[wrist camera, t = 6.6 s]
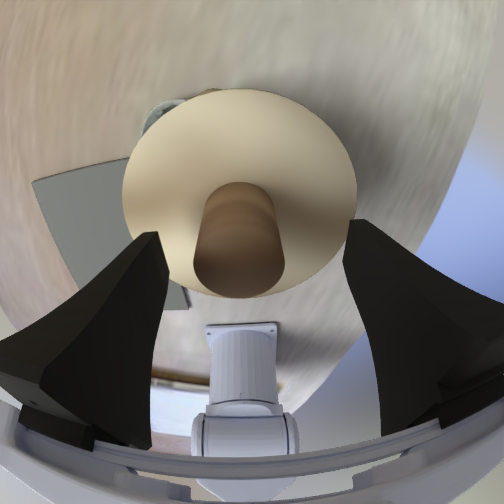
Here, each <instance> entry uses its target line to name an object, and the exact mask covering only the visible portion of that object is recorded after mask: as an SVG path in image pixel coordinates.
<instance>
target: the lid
mask: <svg viewBox="0 0 504 504" xmlns="http://www.w3.org/2000/svg"><path fill="white" fill-rule="evenodd" d="M122 203H123V211H124V216H125V220H126V224H127V226H128V229H129V232H130V234H131V236H132V238H133V240H135V239H136V238H137V237H138V236H139V235H140V234H142V233H143V232H152V231H158V234H159V237H160V241H161V244H162V248H163V251H164V254H165V258H166V261H167V264H168V268H169V271H170V275H169V278H170V279H171V280H173V281H174V282H176V283H178V284H180V285H182V286H184V287H186V288H189V289H191V290H194V291H196V292H200V293H203V294H206V295H211V296H216V297H223V298H242V299H245V298H256V297H262V296H268V295H272V294H275V293H279V292H282V291H285V290H287V289H290V288H292V287H294V286H296V285H298V284H300V283H302V282H304V281H306V280H307V279H309V278H310V277H312V276H313V275H315V274H316V273H317V272H319V271H320V270H321V269H322V268H323V267H325V266H326V265H327V264H328V263H329V262H330V261H331V259H332V258H333V257H334V256H335V255H336V253H337V252H338V251H339V250H340V248H341V247H342V245H343V243H344V242H345V240H346V238H347V233H348V228H349V221H350V220H352V219H354V217H355V213H356V206H357V183H356V177H355V172H354V168H353V166H352V163H351V160H350V157H349V155H348V153H347V151H346V149H345V148H344V146H343V144H342V142H341V141H340V140H339V138H338V137H337V136H336V134H335V133H334V132H333V130H332V129H331V128H330V127H329V126H328V125H327V124H326V123H325V122H324V121H323V120H321V119H320V118H319V117H318V116H316V115H315V114H314V113H312V112H311V111H309V110H308V109H307V108H305V107H304V106H302V105H300V104H298V103H296V102H294V101H292V100H290V99H288V98H286V97H284V96H281V95H277V94H274V93H271V92H267V91H261V90H255V89H225V90H218V91H213V92H209V93H206V94H202V95H199V96H196V97H194V98H192V99H190V100H187V101H185V102H183V103H181V104H180V105H178V106H177V107H175V108H173V109H172V110H170V111H169V112H167V113H166V114H164V115H163V116H162V117H161V118H160V119H158V120H157V121H156V122H155V123H154V124H153V125H152V126H151V127H150V128H149V129H148V130H147V131H146V133H145V134H144V135H143V136H142V138H141V139H140V140H139V142H138V144H137V145H136V147H135V149H134V150H133V152H132V154H131V157H130V159H129V161H128V164H127V167H126V170H125V175H124V179H123V188H122Z"/></svg>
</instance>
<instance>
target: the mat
mask: <svg viewBox="0 0 504 504" xmlns="http://www.w3.org/2000/svg"><path fill="white" fill-rule="evenodd" d="M129 159H130V157H129V158H124V159H119V160H114V161H109V162H104V163H100V164H95V165H91V166H87V167H83V168H79V169H75V170H71V171H67V172H63V173H59V174H56V175H52V176H49V177H45V178H42V179H39V180H36V181H33V182H32V183H31V184H32V187H33V190H34V192H35V195H36V198H37V201H38V203H39V206H40V208H41V211H42V213H43V216H44V218H45V221H46V223H47V225H48V228H49V230H50V232H51V234H52V237H53V239H54V241H55V243H56V245H57V247H58V249H59V252H60V254H61V256H62V258H63V260H64V262H65V264H66V266H67V267H68V269H69V271H70V273H71V275H72V277H73V279H74V281H75V282H76V284H77V286H78V288H79V289H80V290H81V289H82V288H83V287H84V286H85V285H87V284H88V283H89V282H90V281H91V280H92V279H93V278H94V277H95V276H96V275H97V274H99V273H100V272H101V271H102V270H103V269H104V268H105V267H106V266H107V265H108V264H109V263H110V262H111V261H113V260H114V259H115V258H116V257H117V256H118V255H119V254H120V253H121V252H122V251H123V250H124V249H125V248H126V247H127V246H128V245H129V244H130V243H131V242H132V241H133V238H132V236H131V234H130V232H129V229H128V226H127V224H126V220H125V216H124V211H123V203H122V188H123V179H124V175H125V170H126V167H127V164H128V161H129ZM163 310H189V305H188V302H187V299H186V296H185V292H184V289H183V286H182V285H180V284H178V283H176V282H174V281H173V280H171V279H170V278H169V284H168V291H167V296H166V300H165V304H164V308H163Z"/></svg>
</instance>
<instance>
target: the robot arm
mask: <svg viewBox="0 0 504 504" xmlns="http://www.w3.org/2000/svg"><path fill="white" fill-rule="evenodd" d="M342 262H343V266H344V270H345V274H346V278H347V282H348V285H349V287H350V290H351V293H352V295H353V298H354V300H355V303H356V305H357V308H358V310H359V313H360V316H361V318H362V321H363V323H364V326H365V329H366V332H367V335H368V338H369V342H370V347H371V351H372V356H373V360H374V365H375V371H376V378H377V384H378V393H379V402H380V417H381V437H380V438H376V439H372V440H369V441H364V442H360V443H356V444H351V445H347V446H342V447H337V448H331V449H325V450H320V451H313V452H305V453H299V433H298V427H297V423H296V420H295V418H294V417H292V416H291V414H290V413H288V412H286V413H283V406H282V404H279V402H278V391H277V380H276V369H275V365H276V346H277V324H276V323H263V324H245V325H222V326H206V327H204V333H205V336H206V339H207V342H208V345H209V348H210V351H211V355H212V356H211V373H210V393H209V405H206V414H205V413H199V414H198V416H197V417H195V418H194V421H193V425H192V433H191V453H192V456H188V455H177V454H168V453H160V452H153V451H147V450H148V449H150V448H151V447H152V441H151V427H150V385H151V370H152V359H153V351H154V345H155V340H156V336H157V332H158V328H159V324H160V320H161V316H162V312H163V308H164V304H165V300H166V296H167V291H168V284H169V275H170V271H169V268H168V264H167V261H166V258H165V254H164V251H163V248H162V244H161V241H160V237H159V234H158V231H152V232H143V233H142V234H140V235H139V236H138V237H137V238H136V239H135V240H133V241H132V242H131V243H130V244H129V245H128V246H127V247H126V248H125V249H124V250H123V251H122V252H121V253H120V254H119V255H118V256H117V257H116V258H115V259H114V260H113V261H111V262H110V263H109V264H108V265H107V266H106V267H105V268H104V269H103V270H102V271H101V272H100V273H99V274H97V275H96V276H95V277H94V278H93V279H92V280H91V281H90V282H89V283H88V284H87V285H85V286H84V287H83V288H82V289H81V290H79V291H78V292H77V293H76V294H74V295H73V296H72V297H71V298H69V299H68V300H67V301H65V302H64V303H63V304H61V305H60V306H58V307H57V308H56V309H54V310H53V311H51V312H50V313H49V314H47V315H46V316H44V317H43V318H41V319H39V320H38V321H36V322H35V323H33V324H31V325H30V326H28V327H26V328H24V329H23V330H21V331H19V332H17V333H15V334H13V335H11V336H9V337H7V338H5V339H3V340H1V341H0V386H1V387H2V388H3V389H4V390H5V391H7V392H8V393H9V394H10V395H12V396H13V397H14V398H16V399H17V400H18V401H19V402H21V403H22V404H23V405H22V409H21V410H20V409H18V408H16V407H14V406H12V405H10V404H8V403H6V402H4V401H2V400H0V466H1V467H2V468H4V469H5V470H6V471H8V472H9V473H10V474H12V475H13V476H14V477H15V478H17V479H18V480H19V481H21V482H22V483H23V484H25V485H26V486H28V487H29V488H30V489H31V490H33V491H34V492H36V493H37V494H39V495H40V496H41V497H43V498H44V499H46V500H48V501H49V502H51V503H52V504H449V503H450V502H452V501H453V500H455V499H456V498H458V497H459V496H461V495H462V494H463V493H465V492H466V491H468V490H469V489H470V488H472V487H473V486H474V485H475V484H477V483H478V482H479V481H480V480H482V479H483V478H484V477H485V476H487V475H488V474H489V473H490V472H491V471H492V470H493V469H495V468H496V467H497V466H498V465H499V464H500V463H501V462H502V461H503V460H504V375H503V374H504V304H503V303H500V302H498V301H495V300H493V299H490V298H488V297H486V296H484V295H481V294H479V293H477V292H475V291H473V290H471V289H469V288H467V287H465V286H463V285H461V284H459V283H457V282H455V281H454V280H452V279H451V278H449V277H447V276H445V275H444V274H442V273H441V272H439V271H437V270H436V269H434V268H432V267H431V266H429V265H428V264H427V263H425V262H424V261H422V260H421V259H419V258H418V257H417V256H415V255H414V254H412V253H411V252H410V251H408V250H407V249H405V248H404V247H403V246H401V245H400V244H399V243H397V242H396V241H395V240H393V239H392V238H391V237H389V236H388V235H387V234H385V233H384V232H383V231H381V230H380V229H379V228H377V227H376V226H374V225H373V224H371V223H370V222H368V221H367V220H365V219H352V220H350V221H349V228H348V233H347V239H346V245H345V250H344V256H343V261H342ZM402 452H403V453H402ZM399 453H402V454H401V455H400V457H399V458H398V459H395V460H392V461H390V462H387V463H384V464H381V465H378V466H375V467H372V468H371V469H369V470H366V471H364V472H361V473H358V474H355V475H353V477H352V479H353V489H349V490H345V491H340V492H335V493H330V494H325V495H319V496H312V497H305V498H297V499H289V500H277V501H270V500H271V499H272V498H273V497H275V496H276V495H277V494H279V493H280V492H281V491H283V490H284V489H286V488H287V487H288V486H289V485H291V484H292V483H293V482H294V481H295V477H296V476H305V475H312V474H318V473H324V472H330V471H335V470H340V469H344V468H349V467H354V466H358V465H362V464H366V463H370V462H373V461H377V460H380V459H384V458H387V457H390V456H393V455H396V454H399ZM135 470H138V471H144V472H149V473H155V474H161V475H168V476H176V477H185V478H196V479H197V482H198V484H200V485H201V486H202V487H204V488H205V489H207V490H208V491H210V492H211V493H212V494H214V495H216V496H217V497H219V498H220V499H221V500H223V502H217V501H201V500H192V499H191V497H190V496H191V488H190V487H189V486H185V485H179V484H174V483H170V482H169V481H165V480H159V479H154V478H149V477H144V476H140V475H138V473H137V472H136V471H135Z"/></svg>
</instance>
